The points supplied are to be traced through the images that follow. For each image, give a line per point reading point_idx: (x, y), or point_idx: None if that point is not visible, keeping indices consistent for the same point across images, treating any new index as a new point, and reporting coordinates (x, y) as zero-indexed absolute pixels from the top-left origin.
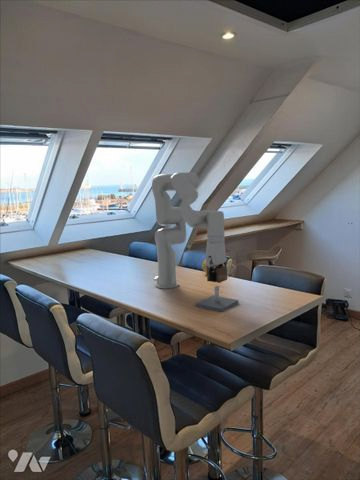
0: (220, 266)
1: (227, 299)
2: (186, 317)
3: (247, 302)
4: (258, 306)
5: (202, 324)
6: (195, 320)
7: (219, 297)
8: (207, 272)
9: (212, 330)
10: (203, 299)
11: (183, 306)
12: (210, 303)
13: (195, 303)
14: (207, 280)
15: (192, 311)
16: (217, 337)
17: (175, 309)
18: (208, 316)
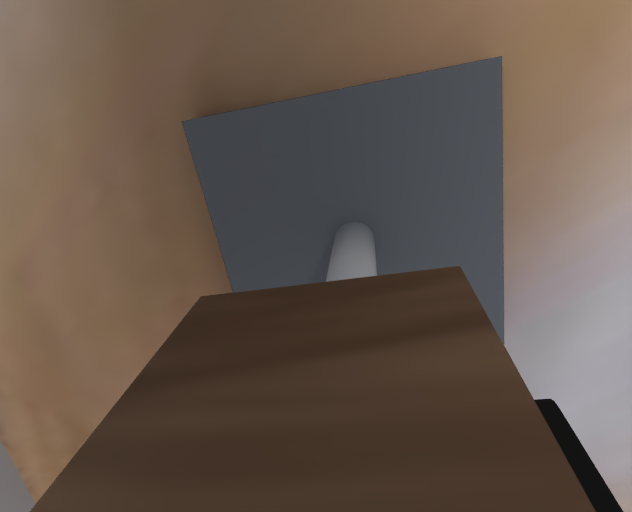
0: None
1: (466, 269)
2: (17, 243)
3: (557, 363)
4: None
5: (49, 377)
6: (44, 316)
7: (476, 175)
8: (114, 425)
9: (54, 445)
10: (316, 94)
11: (109, 27)
12: (278, 230)
13: (182, 122)
14: (198, 307)
15: (109, 189)
16: (35, 489)
17: (12, 38)
18: (144, 331)
